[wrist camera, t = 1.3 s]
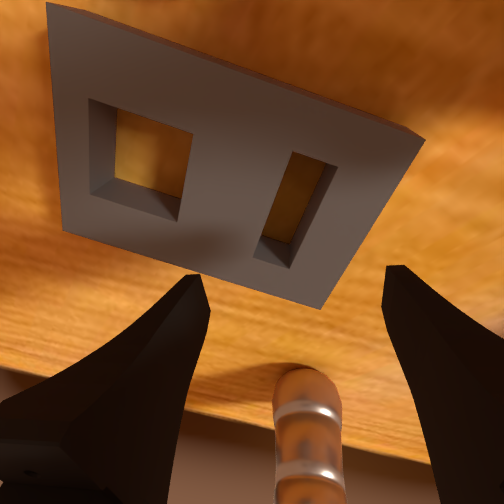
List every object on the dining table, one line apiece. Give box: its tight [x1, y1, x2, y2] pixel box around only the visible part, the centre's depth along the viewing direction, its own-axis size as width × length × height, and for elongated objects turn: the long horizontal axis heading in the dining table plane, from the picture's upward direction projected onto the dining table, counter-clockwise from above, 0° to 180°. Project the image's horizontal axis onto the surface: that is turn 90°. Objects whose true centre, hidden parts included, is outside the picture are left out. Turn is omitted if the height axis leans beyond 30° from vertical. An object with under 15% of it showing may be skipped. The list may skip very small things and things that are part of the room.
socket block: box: [46, 2, 426, 310], centre depth 18 cm, size 18×12×3 cm, turn 73°
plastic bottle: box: [272, 368, 348, 504], centre depth 22 cm, size 6×7×20 cm
